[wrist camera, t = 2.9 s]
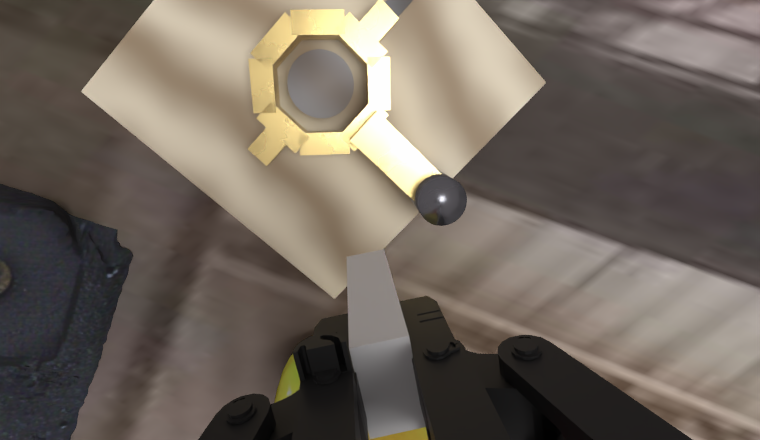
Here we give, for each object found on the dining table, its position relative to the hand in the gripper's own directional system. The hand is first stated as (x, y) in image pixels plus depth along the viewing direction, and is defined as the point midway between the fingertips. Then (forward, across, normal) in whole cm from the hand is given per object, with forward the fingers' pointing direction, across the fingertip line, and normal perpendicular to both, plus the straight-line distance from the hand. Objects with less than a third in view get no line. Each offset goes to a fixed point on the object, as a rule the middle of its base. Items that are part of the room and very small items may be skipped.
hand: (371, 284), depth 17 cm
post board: (+17, -1, +8) cm, 19 cm away
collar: (+14, +1, +5) cm, 15 cm away
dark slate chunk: (+17, -29, -4) cm, 34 cm away
